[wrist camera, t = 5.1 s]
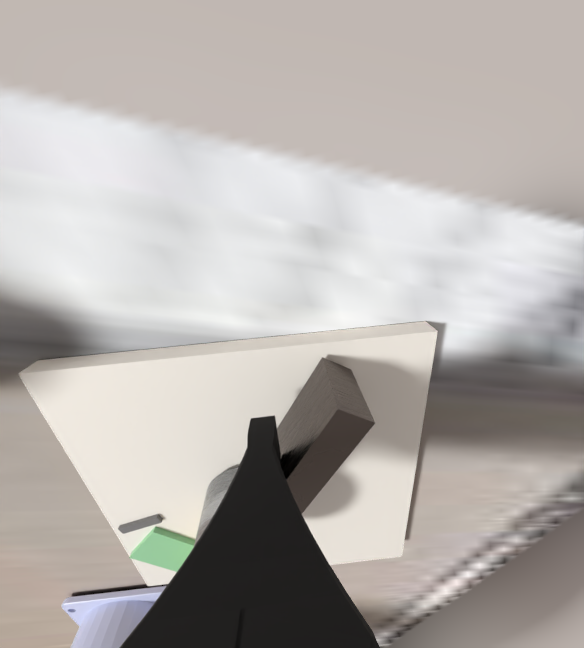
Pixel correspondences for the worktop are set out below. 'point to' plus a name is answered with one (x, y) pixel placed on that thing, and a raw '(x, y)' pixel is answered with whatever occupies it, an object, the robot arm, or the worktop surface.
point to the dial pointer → (310, 437)
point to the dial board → (235, 433)
